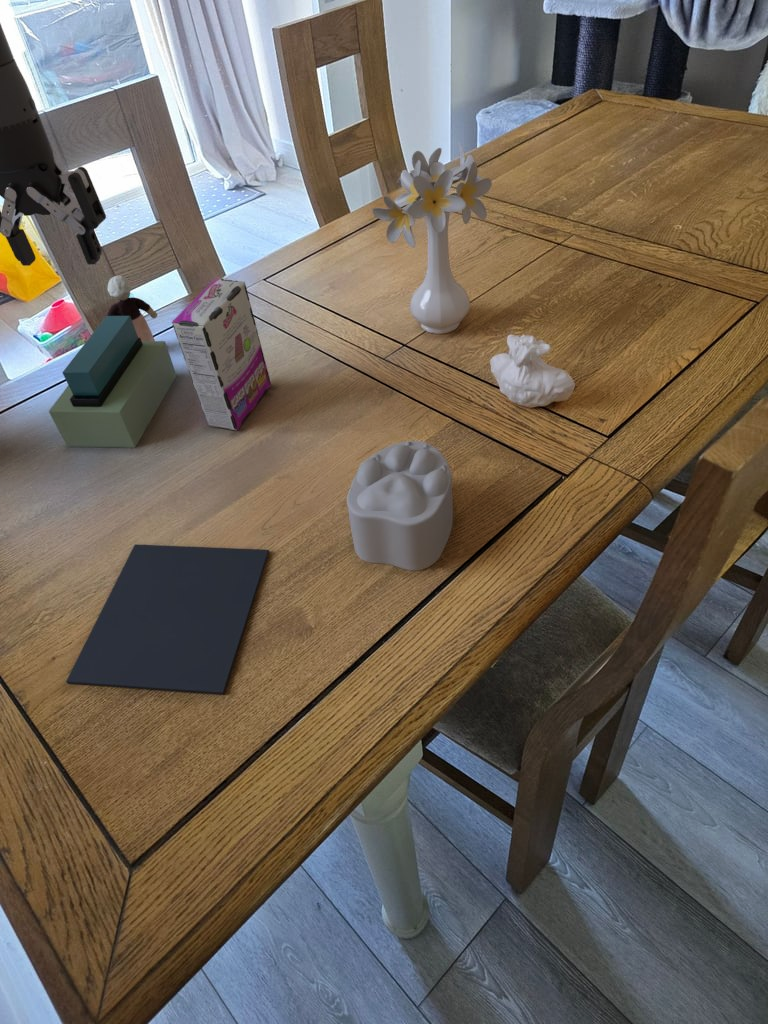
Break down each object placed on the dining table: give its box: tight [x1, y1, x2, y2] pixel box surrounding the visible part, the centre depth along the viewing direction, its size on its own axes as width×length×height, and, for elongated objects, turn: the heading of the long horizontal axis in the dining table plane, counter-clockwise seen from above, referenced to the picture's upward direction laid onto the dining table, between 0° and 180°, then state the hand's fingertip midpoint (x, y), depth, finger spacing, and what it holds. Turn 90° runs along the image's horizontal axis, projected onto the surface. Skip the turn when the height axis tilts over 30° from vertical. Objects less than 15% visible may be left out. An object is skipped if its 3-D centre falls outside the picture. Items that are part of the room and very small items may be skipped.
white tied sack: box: [489, 333, 576, 408], centre depth 90 cm, size 12×8×11 cm
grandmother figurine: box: [106, 275, 158, 341], centre depth 106 cm, size 8×4×13 cm, turn 130°
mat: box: [65, 544, 270, 696], centre depth 73 cm, size 16×18×1 cm
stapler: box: [62, 315, 143, 407], centre depth 94 cm, size 15×4×5 cm, turn 173°
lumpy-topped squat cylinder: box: [346, 440, 454, 572], centre depth 76 cm, size 10×13×9 cm
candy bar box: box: [171, 278, 272, 432], centre depth 92 cm, size 11×5×16 cm, turn 161°
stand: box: [48, 340, 177, 449], centre depth 98 cm, size 10×17×6 cm, turn 173°
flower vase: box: [371, 141, 493, 335], centre depth 100 cm, size 13×18×25 cm
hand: (62, 262), depth 84 cm, fingers open, 8 cm apart
